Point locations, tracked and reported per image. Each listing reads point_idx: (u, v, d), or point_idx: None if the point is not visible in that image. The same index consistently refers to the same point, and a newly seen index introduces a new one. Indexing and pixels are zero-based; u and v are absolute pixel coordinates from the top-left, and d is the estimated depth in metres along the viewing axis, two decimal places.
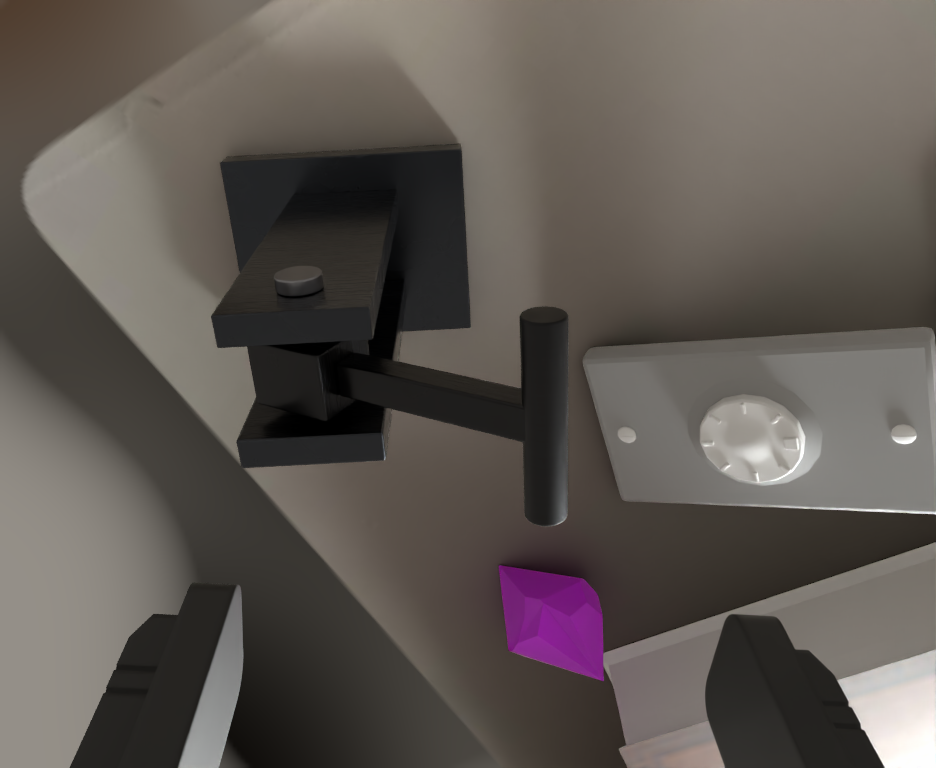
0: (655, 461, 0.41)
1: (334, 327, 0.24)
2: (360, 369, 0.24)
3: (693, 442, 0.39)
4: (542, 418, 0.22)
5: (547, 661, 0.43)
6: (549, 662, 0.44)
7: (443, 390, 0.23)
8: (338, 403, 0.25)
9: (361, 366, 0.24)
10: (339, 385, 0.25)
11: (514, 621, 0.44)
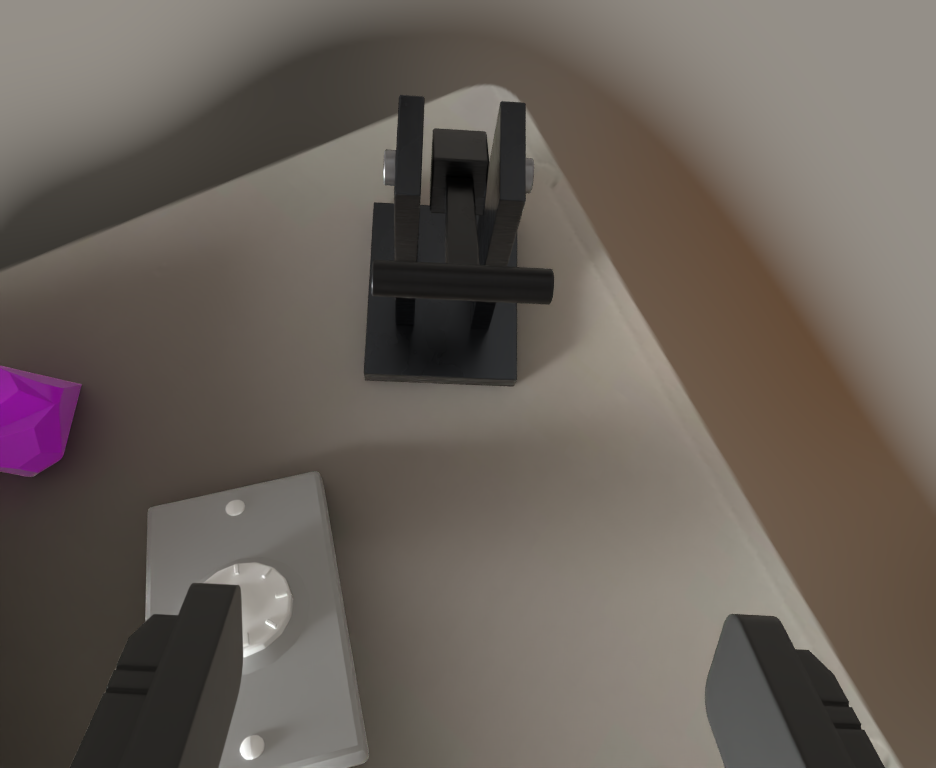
0: (202, 533, 0.40)
1: (511, 176, 0.32)
2: (474, 189, 0.32)
3: (229, 563, 0.39)
4: (474, 272, 0.28)
5: None
6: None
7: (475, 226, 0.30)
8: (441, 174, 0.33)
9: (474, 192, 0.32)
10: (454, 178, 0.33)
11: (31, 376, 0.40)
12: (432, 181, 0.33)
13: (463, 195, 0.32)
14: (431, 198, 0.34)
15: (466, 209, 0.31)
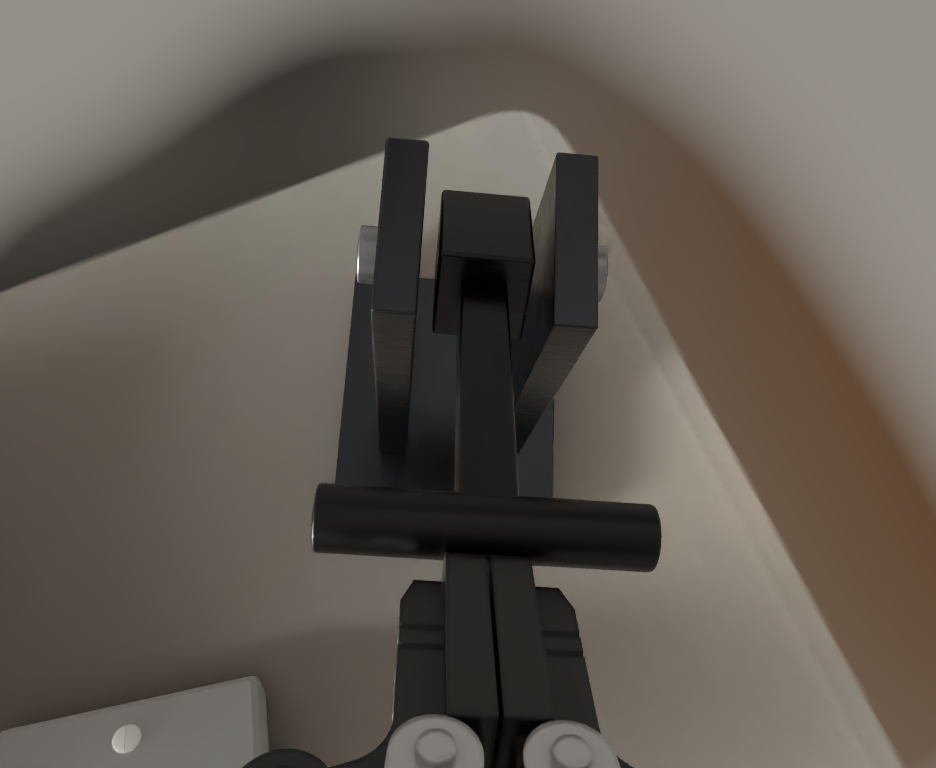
0: None
1: (574, 284, 0.19)
2: (507, 309, 0.19)
3: None
4: (511, 519, 0.14)
5: None
6: None
7: (511, 398, 0.17)
8: (453, 277, 0.19)
9: (508, 314, 0.19)
10: (474, 285, 0.19)
11: None
12: (437, 287, 0.20)
13: (490, 324, 0.18)
14: (435, 312, 0.20)
15: (495, 356, 0.18)
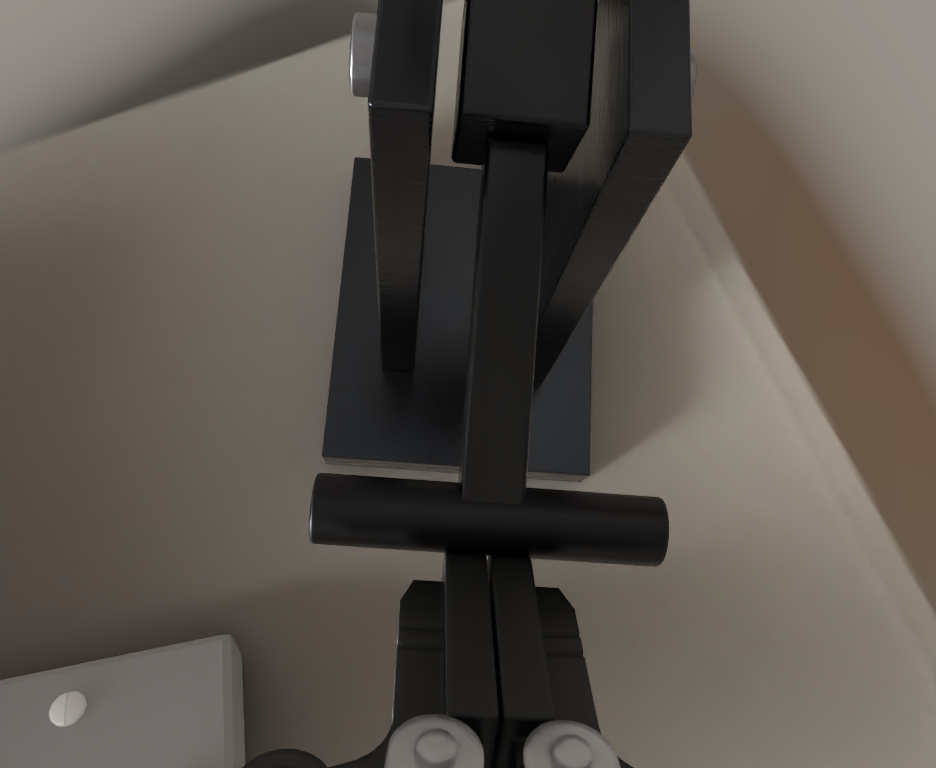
0: None
1: (657, 75, 0.13)
2: (545, 191, 0.15)
3: None
4: (513, 535, 0.14)
5: None
6: None
7: (532, 356, 0.14)
8: (477, 131, 0.14)
9: (545, 191, 0.15)
10: (506, 138, 0.15)
11: None
12: (457, 135, 0.15)
13: (519, 223, 0.14)
14: (455, 149, 0.16)
15: (520, 284, 0.14)
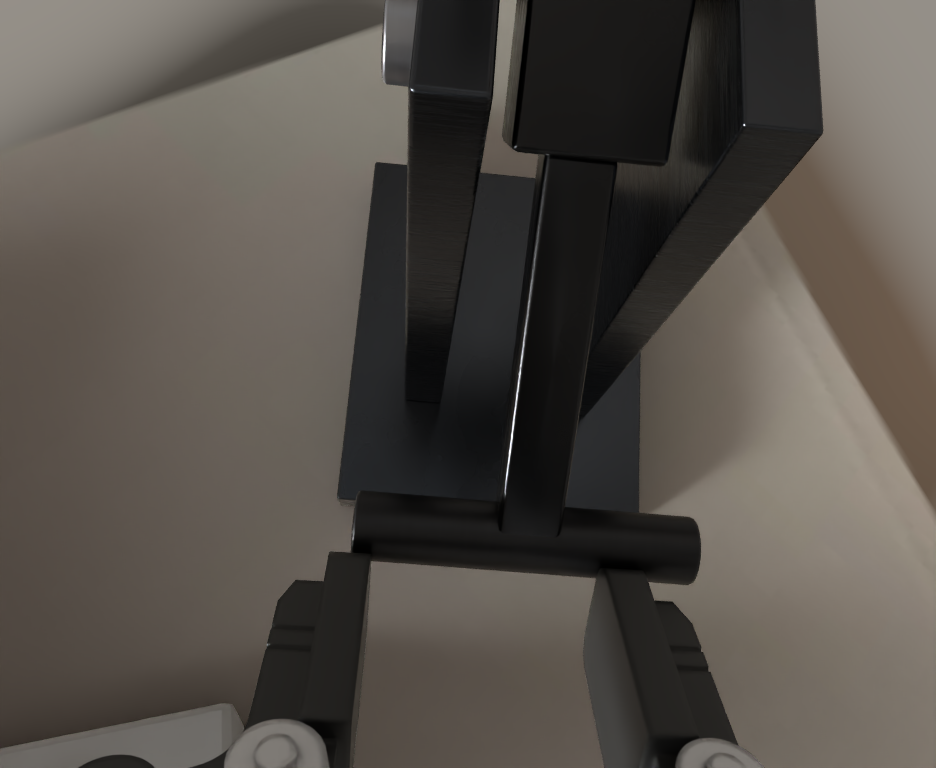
0: None
1: (777, 56, 0.10)
2: (608, 221, 0.13)
3: None
4: (546, 564, 0.14)
5: None
6: None
7: (579, 400, 0.14)
8: None
9: (608, 215, 0.13)
10: None
11: None
12: (510, 144, 0.12)
13: (575, 259, 0.13)
14: (506, 141, 0.13)
15: (571, 326, 0.13)
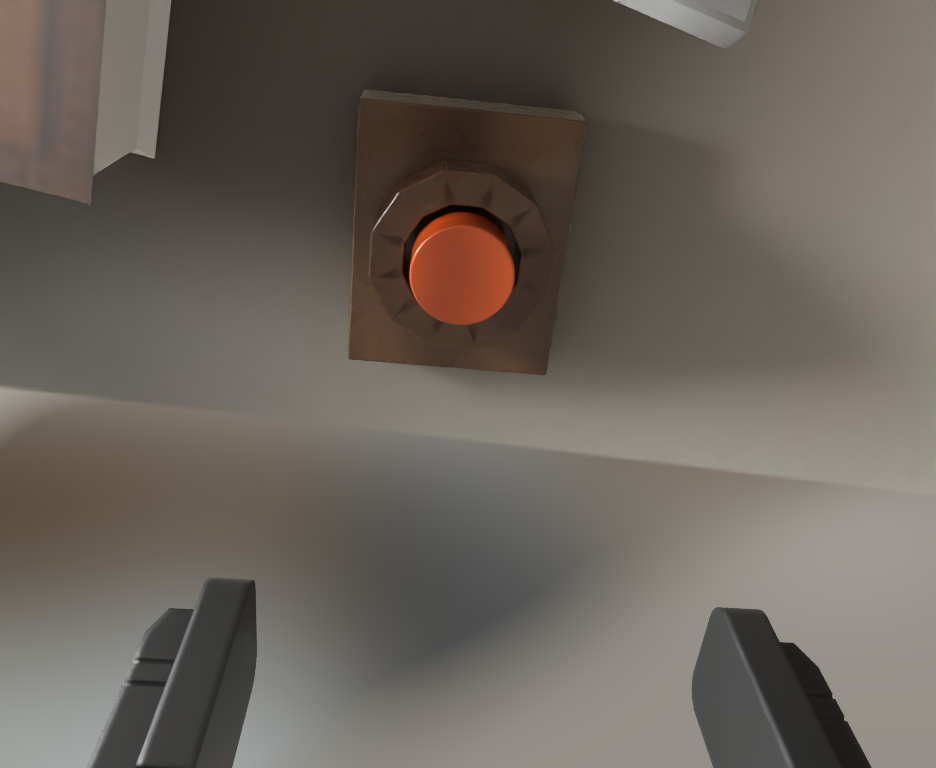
0: None
1: None
2: None
3: None
4: None
5: None
6: None
7: None
8: None
9: None
10: None
11: None
12: None
13: None
14: None
15: None
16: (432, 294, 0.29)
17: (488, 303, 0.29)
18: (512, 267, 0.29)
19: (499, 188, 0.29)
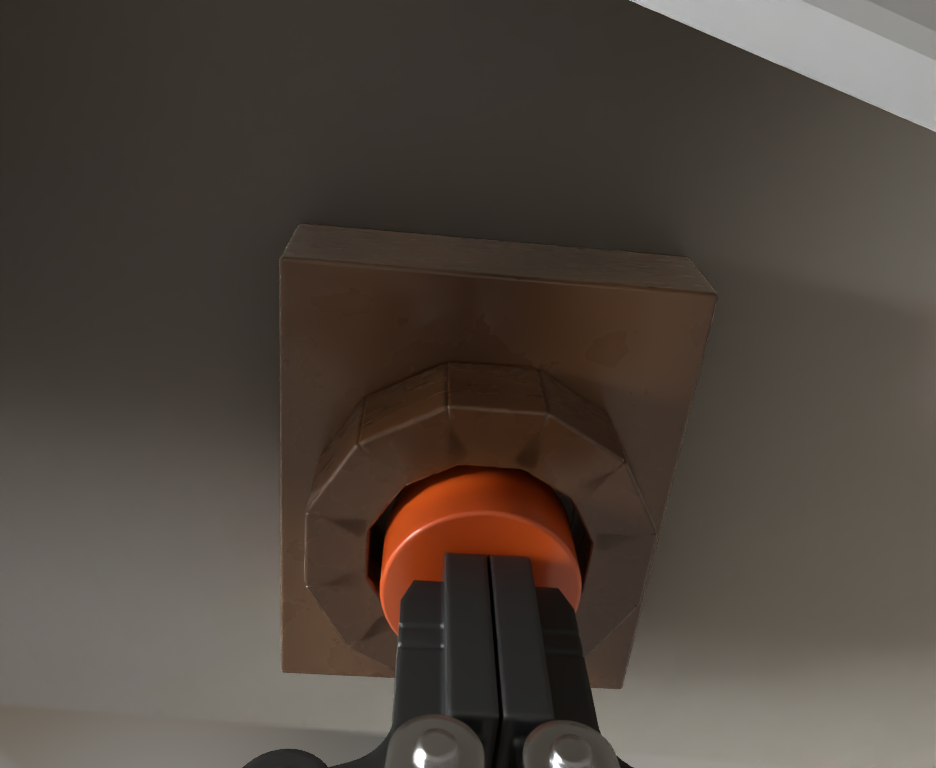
0: None
1: None
2: None
3: None
4: None
5: None
6: None
7: None
8: None
9: None
10: None
11: None
12: None
13: None
14: None
15: None
16: None
17: None
18: (577, 578, 0.15)
19: (554, 437, 0.15)
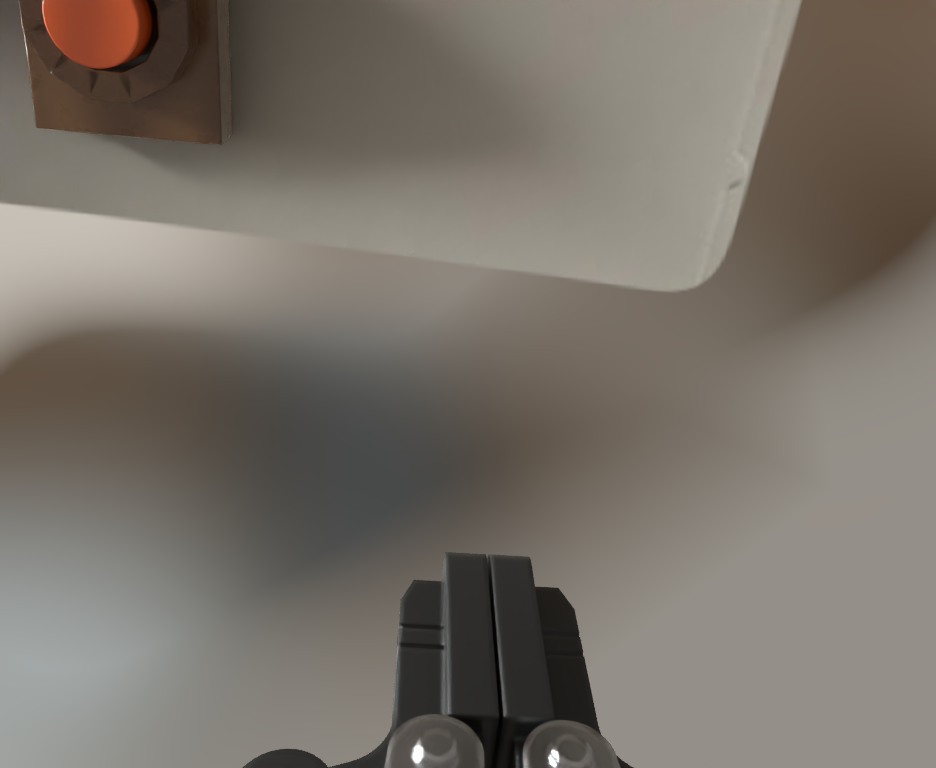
0: None
1: None
2: None
3: None
4: None
5: None
6: None
7: None
8: None
9: None
10: None
11: None
12: None
13: None
14: None
15: None
16: (66, 36, 0.32)
17: (119, 45, 0.32)
18: (134, 9, 0.32)
19: None
